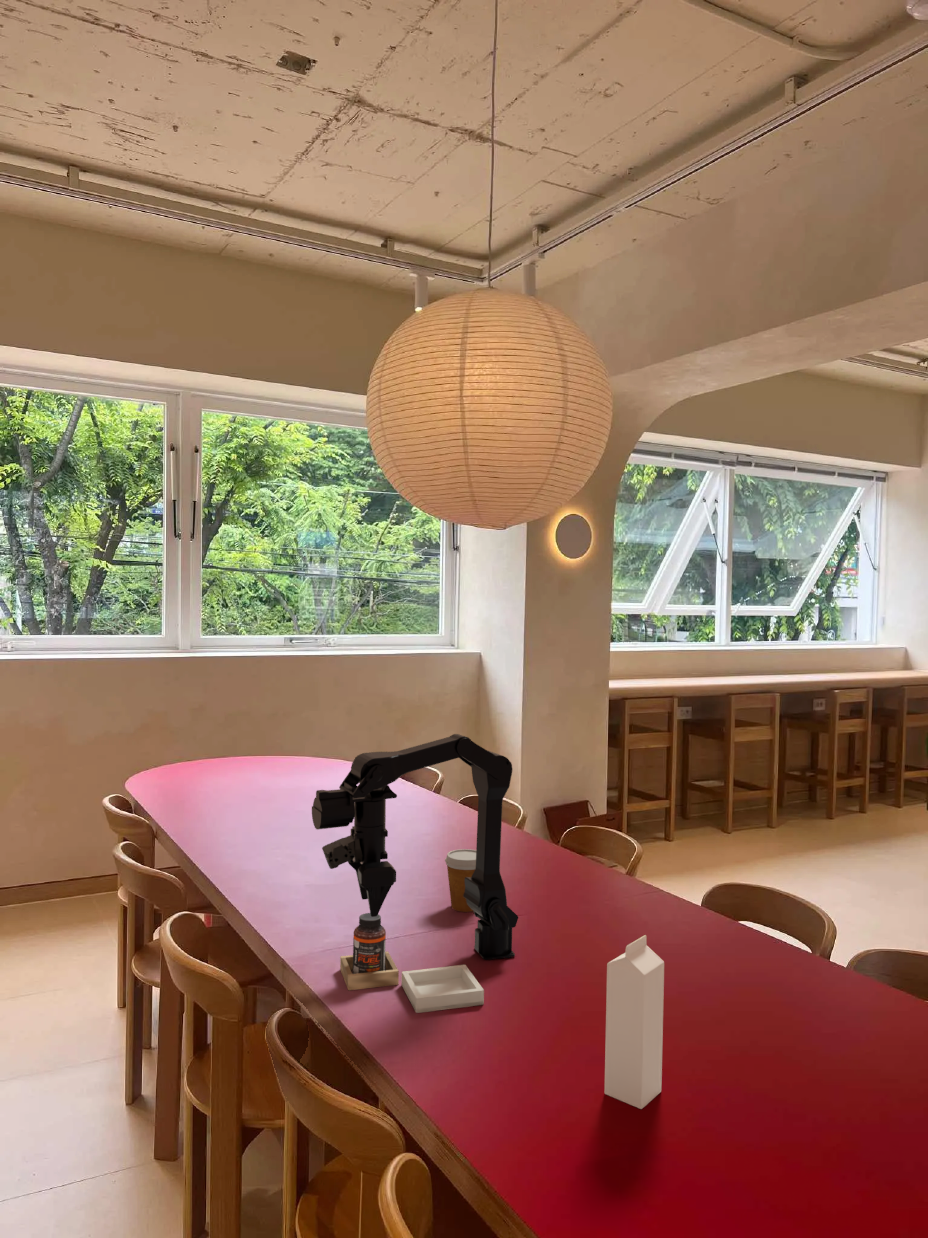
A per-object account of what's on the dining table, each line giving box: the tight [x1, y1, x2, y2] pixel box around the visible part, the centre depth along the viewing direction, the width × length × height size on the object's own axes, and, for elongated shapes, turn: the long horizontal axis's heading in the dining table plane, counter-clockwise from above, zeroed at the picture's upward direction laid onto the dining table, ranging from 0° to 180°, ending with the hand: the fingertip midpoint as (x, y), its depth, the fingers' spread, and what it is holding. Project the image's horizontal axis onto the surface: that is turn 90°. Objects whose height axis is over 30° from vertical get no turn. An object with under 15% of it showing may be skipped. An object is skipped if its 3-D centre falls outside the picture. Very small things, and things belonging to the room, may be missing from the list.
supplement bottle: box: [352, 912, 387, 974], centre depth 164 cm, size 6×6×11 cm
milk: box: [604, 934, 665, 1110], centre depth 127 cm, size 6×6×22 cm
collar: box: [339, 951, 400, 991], centre depth 164 cm, size 9×9×2 cm
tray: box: [401, 964, 485, 1014], centre depth 157 cm, size 12×11×2 cm
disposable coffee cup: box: [444, 848, 476, 913], centre depth 201 cm, size 10×10×12 cm
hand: (369, 907), depth 164 cm, fingers open, 9 cm apart
